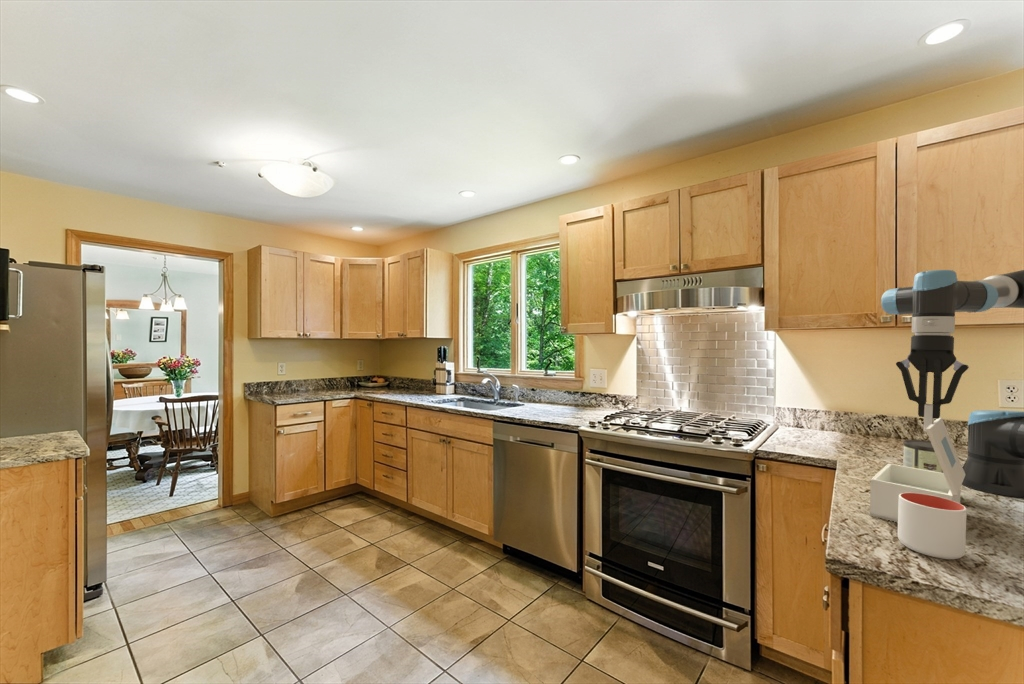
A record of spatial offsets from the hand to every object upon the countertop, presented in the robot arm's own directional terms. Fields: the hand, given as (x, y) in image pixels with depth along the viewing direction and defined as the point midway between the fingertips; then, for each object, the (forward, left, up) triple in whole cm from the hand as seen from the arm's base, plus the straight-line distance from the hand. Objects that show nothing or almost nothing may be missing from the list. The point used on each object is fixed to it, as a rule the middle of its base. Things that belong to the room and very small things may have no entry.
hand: (928, 431), depth 106 cm
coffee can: (-17, -14, -21) cm, 31 cm away
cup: (+17, +16, -21) cm, 31 cm away
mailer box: (+1, -1, -21) cm, 21 cm away
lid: (-2, +2, -5) cm, 6 cm away
